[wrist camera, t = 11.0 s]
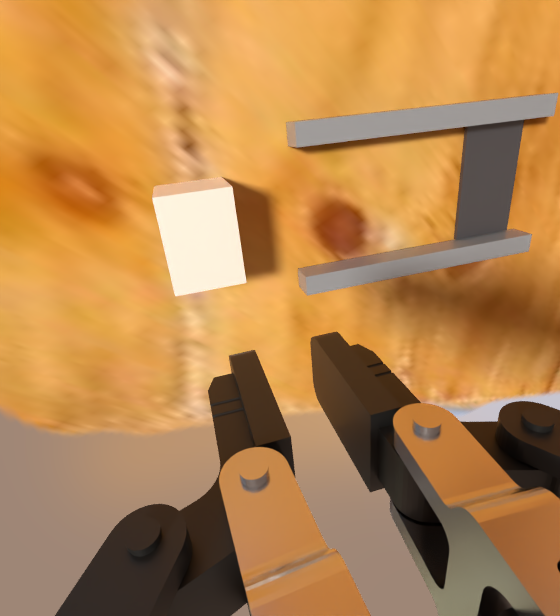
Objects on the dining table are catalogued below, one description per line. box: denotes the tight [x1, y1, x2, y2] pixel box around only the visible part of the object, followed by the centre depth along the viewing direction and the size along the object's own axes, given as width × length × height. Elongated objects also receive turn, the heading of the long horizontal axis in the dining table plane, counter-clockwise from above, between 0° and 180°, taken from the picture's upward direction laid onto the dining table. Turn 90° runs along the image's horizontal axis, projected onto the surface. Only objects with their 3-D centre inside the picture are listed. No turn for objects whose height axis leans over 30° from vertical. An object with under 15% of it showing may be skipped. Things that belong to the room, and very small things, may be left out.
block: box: [152, 177, 246, 296], centre depth 26 cm, size 4×6×5 cm
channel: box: [286, 93, 558, 295], centre depth 30 cm, size 20×12×2 cm, turn 95°
